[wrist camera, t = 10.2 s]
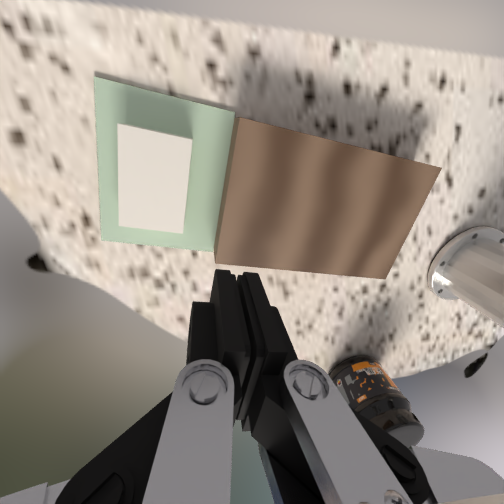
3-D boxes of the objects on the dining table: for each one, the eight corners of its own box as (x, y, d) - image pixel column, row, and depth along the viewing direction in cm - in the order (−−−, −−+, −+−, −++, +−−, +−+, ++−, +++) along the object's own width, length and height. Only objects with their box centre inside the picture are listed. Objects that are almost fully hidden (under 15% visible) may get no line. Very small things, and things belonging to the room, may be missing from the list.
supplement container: (387, 355, 47) (442, 422, 36) (359, 392, 50) (402, 462, 40) (342, 349, 43) (387, 421, 33) (316, 389, 47) (349, 465, 37)
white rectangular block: (117, 123, 20) (125, 123, 22) (118, 225, 24) (125, 217, 26) (192, 139, 22) (193, 138, 24) (182, 233, 26) (184, 225, 28)
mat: (234, 112, 24) (235, 112, 24) (212, 250, 30) (212, 252, 30) (95, 76, 21) (93, 76, 21) (102, 239, 27) (101, 240, 27)
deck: (413, 162, 30) (441, 167, 26) (367, 264, 36) (385, 279, 32) (234, 118, 24) (239, 117, 21) (213, 247, 30) (215, 263, 26)
